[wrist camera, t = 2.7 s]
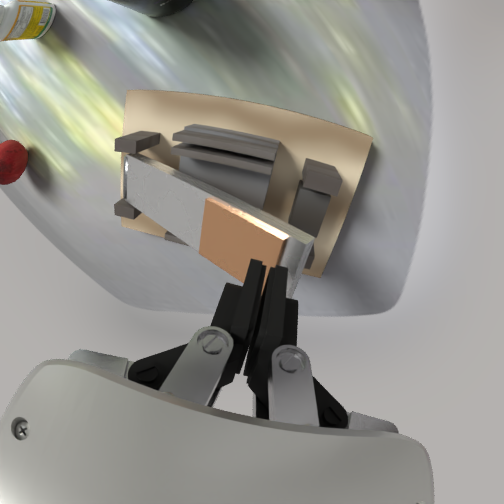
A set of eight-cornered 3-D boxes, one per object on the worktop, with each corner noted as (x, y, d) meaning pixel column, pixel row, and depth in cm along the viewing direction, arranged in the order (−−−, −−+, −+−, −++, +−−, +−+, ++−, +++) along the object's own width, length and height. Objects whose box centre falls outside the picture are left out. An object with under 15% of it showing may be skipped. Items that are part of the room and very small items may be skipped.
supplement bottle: (60, 16, 15) (0, 15, 7) (36, 46, 17) (-22, 53, 9) (52, -4, 13) (-3, -8, 5) (29, 24, 14) (-24, 28, 6)
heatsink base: (138, 89, 20) (97, 92, 15) (367, 134, 20) (390, 147, 15) (130, 218, 28) (99, 246, 23) (319, 266, 28) (322, 307, 22)
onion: (38, 135, 23) (-9, 153, 17) (39, 175, 27) (-4, 200, 20) (17, 132, 23) (-26, 150, 17) (18, 169, 26) (-21, 191, 20)
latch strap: (134, 150, 19) (119, 153, 18) (316, 237, 13) (303, 246, 12) (132, 194, 22) (118, 198, 21) (292, 297, 15) (279, 309, 14)
